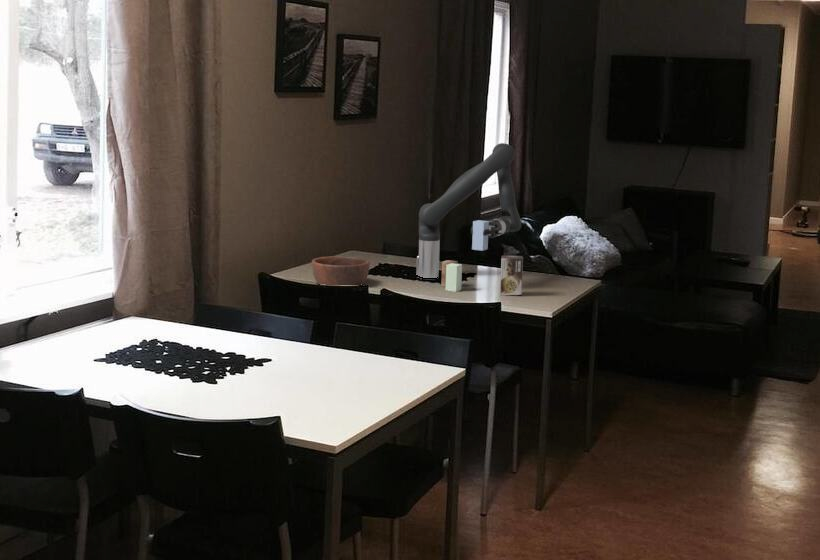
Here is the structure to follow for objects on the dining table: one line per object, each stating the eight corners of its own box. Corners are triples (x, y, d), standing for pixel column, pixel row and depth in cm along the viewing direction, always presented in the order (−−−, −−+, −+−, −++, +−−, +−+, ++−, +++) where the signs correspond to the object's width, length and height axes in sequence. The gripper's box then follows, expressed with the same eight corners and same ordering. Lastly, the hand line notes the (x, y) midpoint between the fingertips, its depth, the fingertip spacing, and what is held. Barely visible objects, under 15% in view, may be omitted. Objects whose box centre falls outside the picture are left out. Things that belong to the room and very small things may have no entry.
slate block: (472, 249, 466) (473, 221, 463) (477, 247, 470) (478, 220, 468) (482, 250, 463) (483, 222, 461) (487, 249, 468) (488, 221, 465)
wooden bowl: (379, 282, 480) (379, 259, 478) (352, 292, 457) (352, 267, 455) (329, 276, 490) (329, 254, 488) (300, 285, 467) (300, 262, 466)
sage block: (445, 290, 466) (446, 264, 464) (450, 288, 470) (451, 263, 468) (455, 291, 463) (456, 266, 461) (461, 289, 468) (462, 264, 466)
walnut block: (441, 286, 473) (442, 261, 471) (446, 285, 478) (447, 260, 476) (451, 288, 471) (452, 262, 469) (456, 286, 475) (457, 261, 473)
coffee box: (521, 293, 463) (523, 255, 460) (521, 296, 457) (523, 258, 454) (500, 292, 464) (501, 254, 461) (499, 295, 458) (501, 257, 455)
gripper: (479, 218, 480) (462, 222, 466) (509, 220, 474) (493, 225, 459) (479, 234, 482) (462, 239, 467) (509, 238, 475) (493, 242, 460)
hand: (478, 232), depth 463 cm, fingers closed on slate block, 5 cm apart
